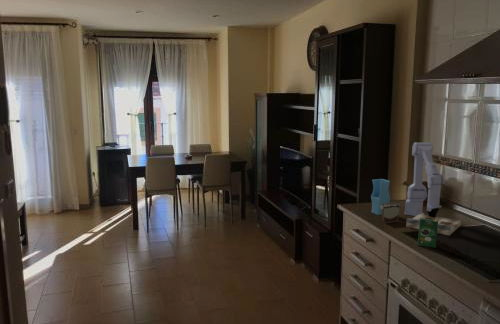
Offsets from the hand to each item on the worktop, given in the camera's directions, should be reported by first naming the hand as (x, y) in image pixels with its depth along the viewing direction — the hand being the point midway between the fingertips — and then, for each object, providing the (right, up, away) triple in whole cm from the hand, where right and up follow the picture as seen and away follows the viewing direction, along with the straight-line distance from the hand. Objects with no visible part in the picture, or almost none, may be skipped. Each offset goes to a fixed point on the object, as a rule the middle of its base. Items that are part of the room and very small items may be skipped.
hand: (431, 221), depth 225 cm
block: (-2, -1, -2) cm, 4 cm away
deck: (+2, -3, +3) cm, 5 cm away
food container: (-20, -2, +12) cm, 24 cm away
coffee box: (-14, -8, -27) cm, 32 cm away
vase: (-19, +1, +29) cm, 35 cm away
